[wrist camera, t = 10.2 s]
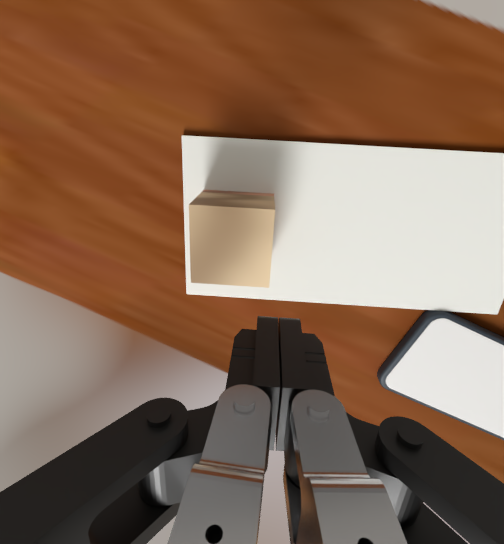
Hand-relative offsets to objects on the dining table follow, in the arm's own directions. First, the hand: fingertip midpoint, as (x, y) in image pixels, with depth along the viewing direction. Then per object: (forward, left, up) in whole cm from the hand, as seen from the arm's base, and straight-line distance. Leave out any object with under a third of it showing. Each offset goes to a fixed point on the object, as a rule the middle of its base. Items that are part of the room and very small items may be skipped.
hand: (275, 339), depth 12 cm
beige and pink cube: (+3, 0, -9) cm, 9 cm away
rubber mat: (-6, 0, -14) cm, 16 cm away
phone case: (-19, +12, -15) cm, 27 cm away
